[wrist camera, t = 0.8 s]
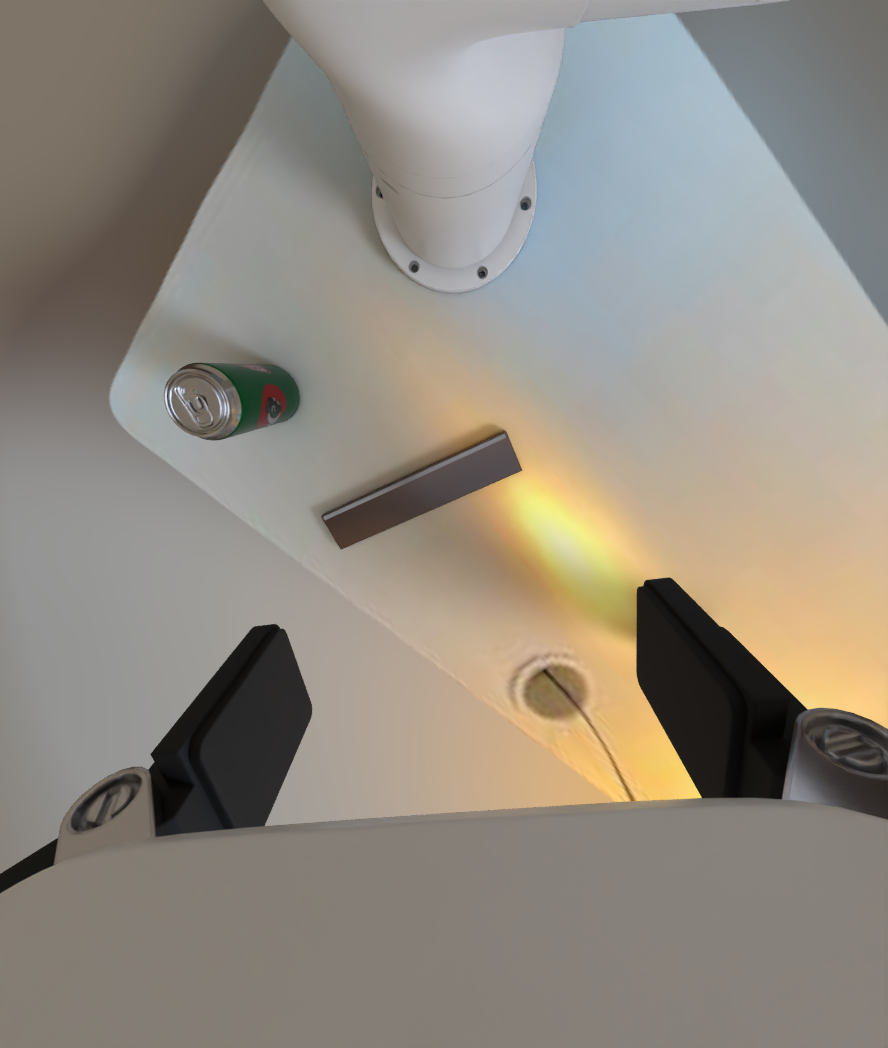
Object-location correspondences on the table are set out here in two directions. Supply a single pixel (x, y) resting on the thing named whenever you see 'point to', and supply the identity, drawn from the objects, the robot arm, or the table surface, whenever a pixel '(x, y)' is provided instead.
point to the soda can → (229, 398)
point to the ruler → (423, 490)
